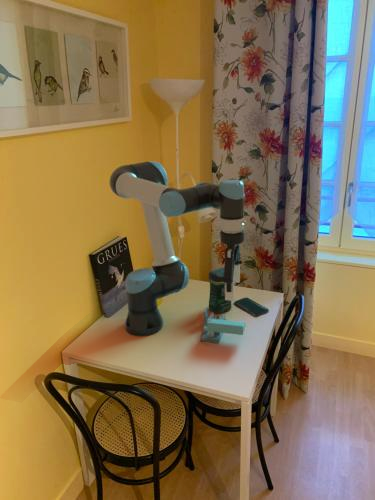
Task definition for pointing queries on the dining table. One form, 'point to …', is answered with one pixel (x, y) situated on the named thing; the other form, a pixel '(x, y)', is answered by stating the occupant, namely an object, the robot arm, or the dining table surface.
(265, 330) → the dining table surface
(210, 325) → the cover
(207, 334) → the slotted block with rod
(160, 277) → the robot arm
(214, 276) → the coffee jar
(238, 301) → the phone
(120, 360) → the dining table surface
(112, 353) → the dining table surface
